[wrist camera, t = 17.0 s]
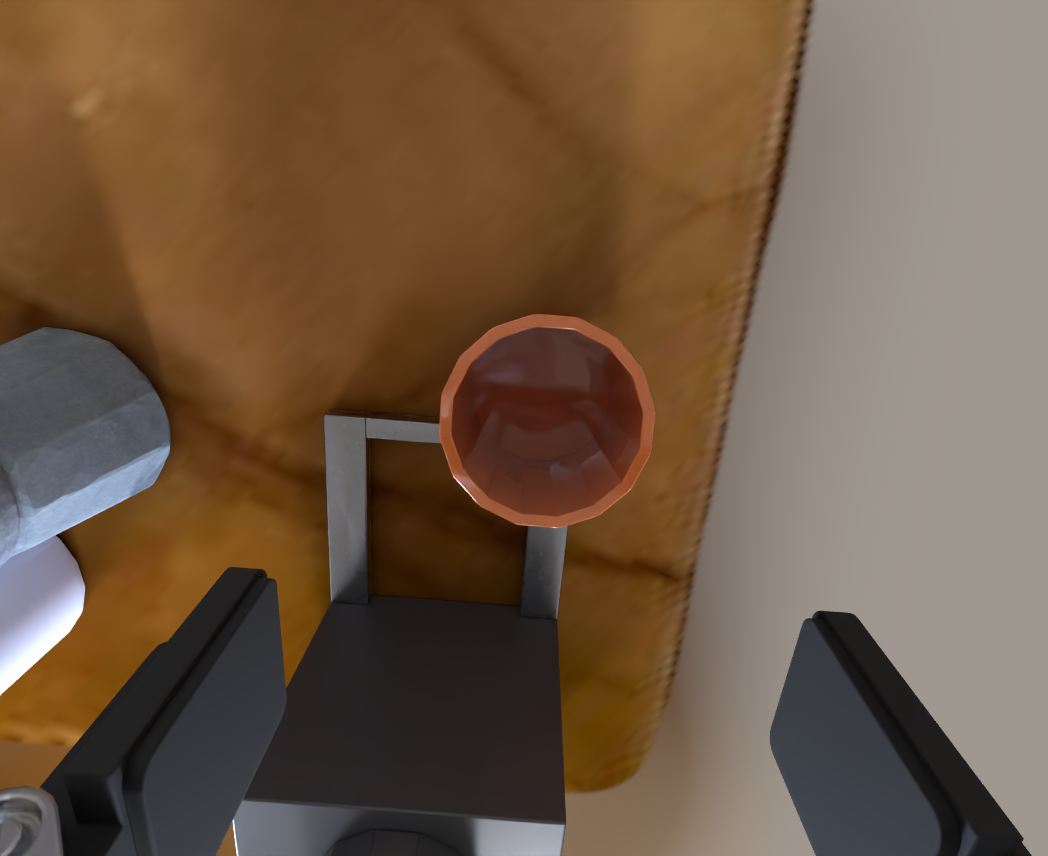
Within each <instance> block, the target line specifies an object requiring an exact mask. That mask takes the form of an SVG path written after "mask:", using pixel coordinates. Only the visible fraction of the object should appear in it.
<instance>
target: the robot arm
mask: <svg viewBox="0 0 1048 856" xmlns="http://www.w3.org/2000/svg"><path fill="white" fill-rule="evenodd" d="M285 705H286V685H285V674H284V662H283V651H282V639H281V628H280V617H279V605H278V594H277V584H276V581H275V579H271V578H267V574H266V572H265V571H264V570H263V569H251V568H237V567H230V568H228V569H227V570H226V571H225V572H224V573H223V574H222V575H221V577H220V578H219V579H218V580H217V581H216V583H215V584H214V585H213V586H212V588H211V589H210V590H209V591H208V593H207V594H206V595H205V596H204V598H203V599H202V600H201V601H200V602H199V604H198V605H197V606H196V607H195V609H194V610H193V611H192V612H191V614H190V615H189V616H188V617H187V619H186V620H185V621H184V622H183V623H182V625H181V626H180V627H179V628H178V630H177V631H176V632H175V633H174V635H173V636H172V637H171V638H170V639H169V641H168V642H164V643H162V644H160V645H158V646H157V647H156V648H155V649H154V650H153V651H152V652H151V653H150V655H149V656H148V657H147V658H146V659H145V661H144V662H143V663H142V664H141V665H140V667H139V668H138V669H137V670H136V671H135V673H134V674H133V675H132V676H131V678H130V679H129V680H128V681H127V682H126V684H125V685H124V686H123V687H122V688H121V690H120V691H119V692H118V693H117V694H116V696H115V697H114V698H113V699H112V701H111V702H110V703H109V704H108V705H107V707H106V708H105V709H104V710H103V711H102V713H101V714H100V715H99V716H98V717H97V719H96V720H95V721H94V722H93V723H92V725H91V726H90V727H89V728H88V730H87V731H86V732H85V733H84V734H83V736H82V737H81V738H80V739H79V740H78V742H77V743H76V744H75V745H74V746H73V748H72V749H71V750H70V751H69V753H68V754H67V755H66V756H65V757H64V759H63V760H62V761H61V762H60V763H59V765H58V766H57V767H56V768H55V769H54V771H53V772H52V773H51V774H50V776H49V777H48V778H47V779H46V781H45V782H44V783H43V784H42V785H41V786H40V788H36V787H30V786H21V787H11V788H4V789H1V790H0V856H216V854H217V852H218V850H219V848H220V846H221V844H222V842H223V840H224V838H225V836H226V833H227V831H228V829H229V827H230V825H231V823H232V821H233V819H234V817H235V815H236V813H237V810H238V808H239V806H240V804H241V802H242V800H243V798H244V796H245V794H246V792H247V790H248V787H249V785H250V783H251V781H252V779H253V777H254V775H255V773H256V771H257V769H258V767H259V764H260V762H261V760H262V758H263V756H264V754H265V752H266V750H267V748H268V746H269V744H270V741H271V739H272V737H273V735H274V733H275V731H276V729H277V727H278V725H279V723H280V721H281V718H282V716H283V713H284V709H285ZM770 745H771V749H772V752H773V755H774V758H775V760H776V762H777V765H778V767H779V770H780V772H781V774H782V776H783V779H784V781H785V784H786V786H787V788H788V791H789V793H790V796H791V798H792V800H793V803H794V805H795V807H796V810H797V812H798V815H799V817H800V819H801V822H802V824H803V826H804V829H805V831H806V834H807V836H808V838H809V841H810V843H811V845H812V848H813V850H814V852H815V855H816V856H1031V854H1030V853H1029V851H1028V850H1027V849H1026V847H1025V846H1024V845H1023V843H1022V841H1023V837H1022V836H1021V834H1020V833H1019V832H1018V830H1017V829H1016V828H1015V826H1014V825H1013V824H1012V822H1011V821H1010V820H1009V818H1008V817H1007V816H1006V815H1005V813H1004V812H1003V810H1002V809H1001V808H1000V807H999V805H998V804H997V802H996V801H995V800H994V798H993V797H992V796H991V795H990V793H989V792H988V791H987V789H986V788H985V787H984V785H983V784H982V783H981V781H980V780H979V779H978V777H977V776H976V775H975V773H974V772H973V771H972V769H971V768H970V767H969V765H968V764H967V763H966V761H965V760H964V759H963V757H962V756H961V755H960V753H959V752H958V751H957V749H956V748H955V747H954V745H953V744H952V743H951V741H950V740H949V739H948V737H947V736H946V735H945V733H944V732H943V731H942V729H941V728H940V727H939V725H938V724H937V723H936V721H934V719H933V717H932V716H931V715H930V714H929V712H928V711H927V709H926V708H925V707H924V705H923V704H922V703H921V702H920V700H919V699H918V697H917V696H916V695H915V694H914V692H913V691H912V689H911V688H910V687H909V686H908V684H907V683H906V682H905V680H904V679H903V678H902V676H901V675H900V674H899V672H898V671H897V670H896V668H895V667H894V666H893V664H892V663H891V662H890V660H889V659H888V658H887V656H886V655H885V654H884V652H883V651H882V650H881V648H880V647H879V646H878V644H877V643H876V642H875V640H874V639H873V638H872V636H871V635H870V634H869V633H868V631H867V630H866V628H865V627H864V626H863V624H862V623H861V622H860V620H859V619H858V618H857V617H856V616H855V615H854V614H851V613H844V612H830V611H817V612H816V613H815V614H814V615H813V617H812V619H811V618H808V619H806V620H805V621H804V622H803V625H802V628H801V631H800V634H799V638H798V641H797V644H796V647H795V651H794V654H793V657H792V661H791V664H790V667H789V670H788V674H787V677H786V680H785V684H784V687H783V690H782V693H781V697H780V700H779V703H778V707H777V710H776V713H775V717H774V720H773V723H772V726H771V730H770Z"/></svg>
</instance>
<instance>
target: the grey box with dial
mask: <svg viewBox="0 0 1048 856" xmlns="http://www.w3.org/2000/svg"><path fill="white" fill-rule="evenodd" d="M233 827H234V835H235V844H236V852H237V856H562V849H563V842H564V835H565V828H566V808H565V785H564V763H563V741H562V718H561V696H560V673H559V651H558V628H557V619H545V618H532V617H521V616H520V606H510V605H497V604H484V603H472V602H459V601H446V600H433V599H421V598H408V597H395V596H383V595H372V596H371V599H370V601H369V603H368V604H367V605H366V604H354V603H341V602H331V604H330V606H329V608H328V610H327V611H326V613H325V615H324V617H323V619H322V621H321V623H320V625H319V627H318V629H317V631H316V633H315V634H314V636H313V638H312V640H311V642H310V644H309V646H308V648H307V650H306V652H305V654H304V656H303V658H302V659H301V661H300V663H299V665H298V667H297V669H296V671H295V673H294V675H293V677H292V679H291V681H290V683H289V684H288V686H287V688H286V705H285V709H284V713H283V716H282V718H281V721H280V723H279V725H278V727H277V729H276V731H275V733H274V735H273V737H272V739H271V741H270V744H269V746H268V748H267V750H266V752H265V754H264V756H263V758H262V760H261V762H260V764H259V767H258V769H257V771H256V773H255V775H254V777H253V779H252V781H251V783H250V785H249V787H248V790H247V792H246V794H245V796H244V798H243V800H242V802H241V804H240V806H239V808H238V810H237V813H236V815H235V817H234V819H233Z"/></svg>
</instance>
